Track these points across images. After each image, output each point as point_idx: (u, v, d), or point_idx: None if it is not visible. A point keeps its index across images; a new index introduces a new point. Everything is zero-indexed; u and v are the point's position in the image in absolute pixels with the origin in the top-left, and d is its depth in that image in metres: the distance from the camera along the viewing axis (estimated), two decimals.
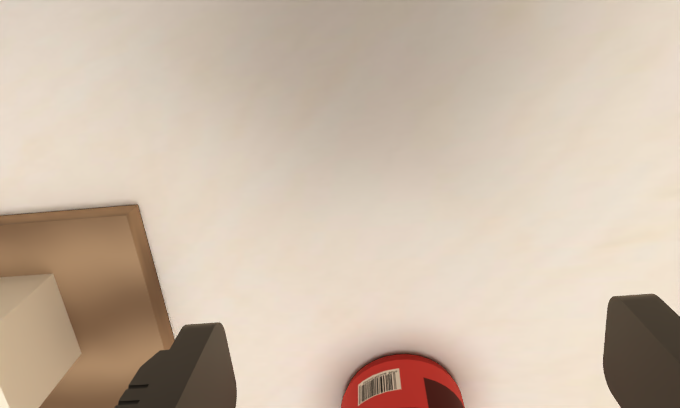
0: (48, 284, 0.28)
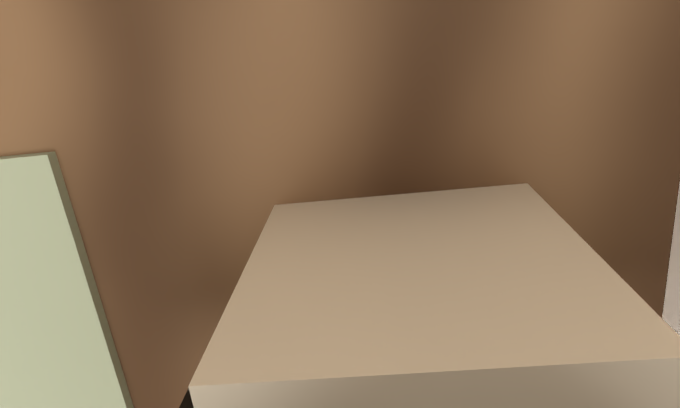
0: None
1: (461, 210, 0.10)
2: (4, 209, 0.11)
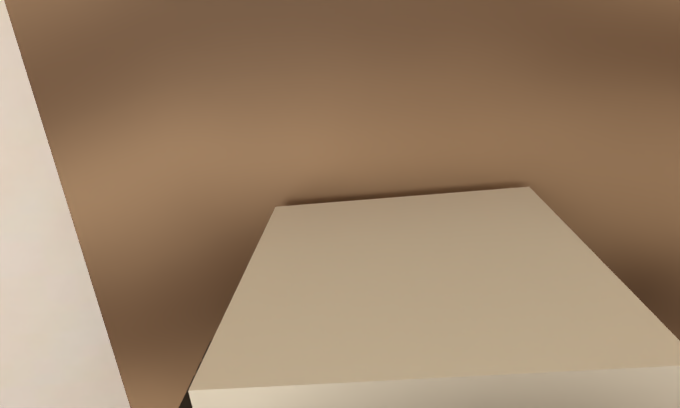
0: None
1: (462, 213, 0.10)
2: None
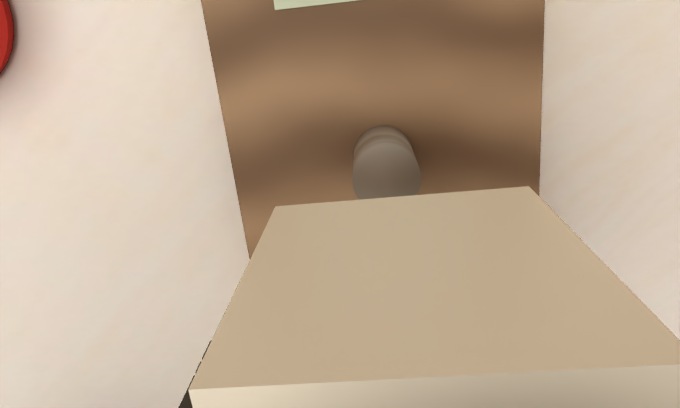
0: None
1: (462, 212, 0.10)
2: None
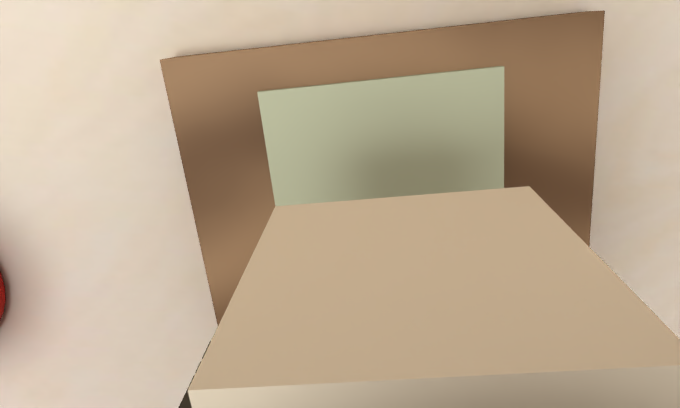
0: None
1: (462, 212, 0.10)
2: None
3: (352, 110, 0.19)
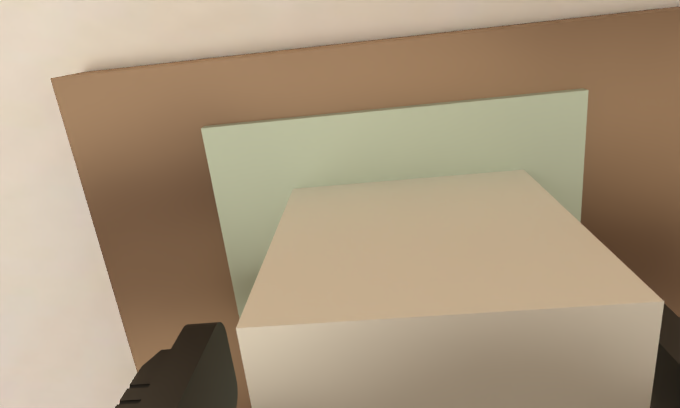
0: None
1: (464, 192, 0.11)
2: None
3: (348, 156, 0.12)
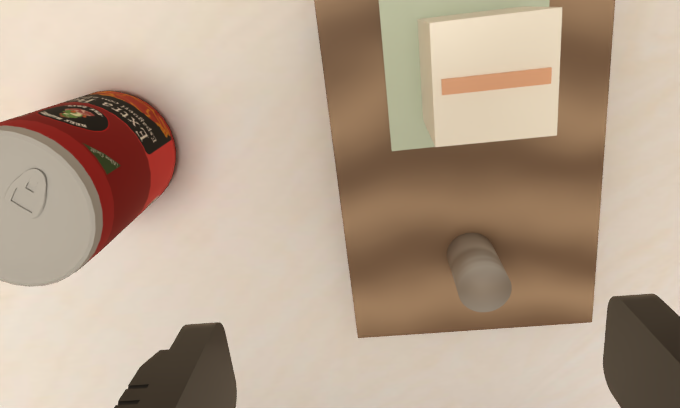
0: None
1: (496, 10, 0.26)
2: None
3: (443, 2, 0.27)
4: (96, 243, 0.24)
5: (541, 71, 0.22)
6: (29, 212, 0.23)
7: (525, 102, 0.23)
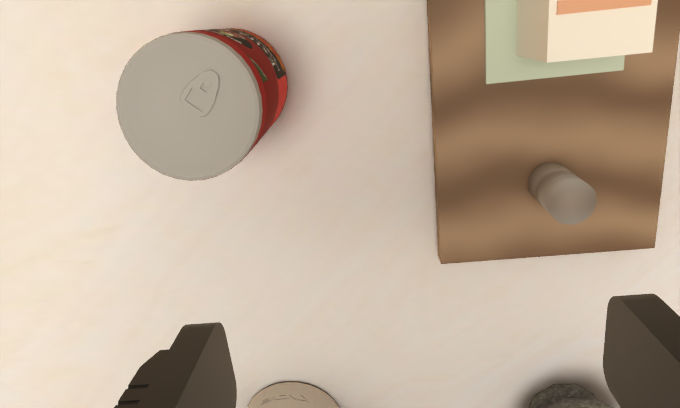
0: None
1: None
2: None
3: None
4: (254, 140, 0.27)
5: None
6: (200, 110, 0.27)
7: (627, 22, 0.27)
